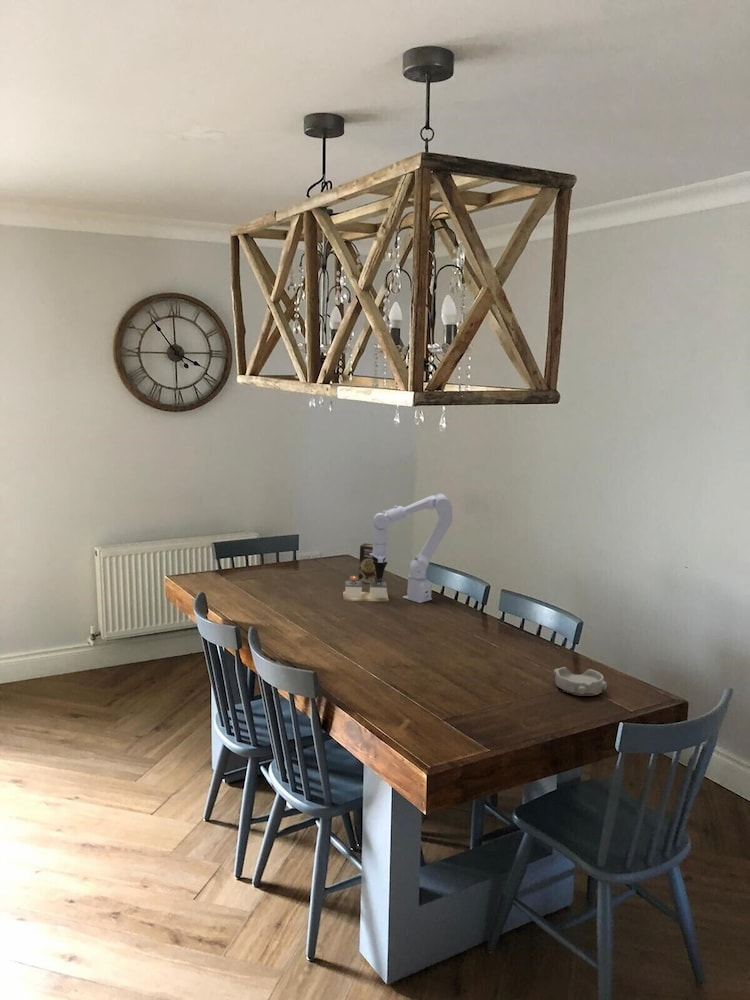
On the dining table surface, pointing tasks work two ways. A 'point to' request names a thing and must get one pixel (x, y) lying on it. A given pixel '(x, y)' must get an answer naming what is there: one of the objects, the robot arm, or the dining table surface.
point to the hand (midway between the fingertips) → (378, 575)
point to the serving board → (364, 598)
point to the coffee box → (366, 564)
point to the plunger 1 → (354, 579)
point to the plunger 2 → (378, 580)
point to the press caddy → (356, 589)
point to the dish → (580, 681)
